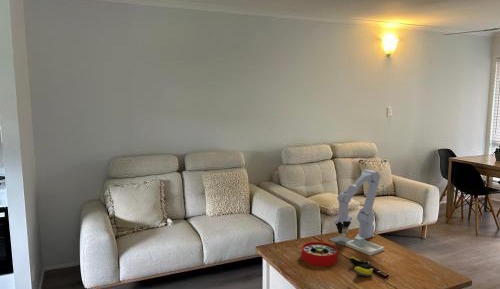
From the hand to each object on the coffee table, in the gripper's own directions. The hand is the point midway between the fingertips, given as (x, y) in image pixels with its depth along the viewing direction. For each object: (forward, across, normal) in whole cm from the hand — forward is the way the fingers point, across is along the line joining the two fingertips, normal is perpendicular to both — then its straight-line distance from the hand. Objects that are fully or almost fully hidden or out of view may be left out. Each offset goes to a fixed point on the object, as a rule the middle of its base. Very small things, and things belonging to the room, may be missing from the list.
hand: (342, 232), depth 237 cm
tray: (+6, +2, -16) cm, 17 cm away
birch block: (+2, 0, 0) cm, 2 cm away
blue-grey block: (+5, +2, -12) cm, 13 cm away
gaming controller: (+6, -25, -34) cm, 42 cm away
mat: (+6, 0, 0) cm, 6 cm away
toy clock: (+6, -30, -10) cm, 32 cm away
